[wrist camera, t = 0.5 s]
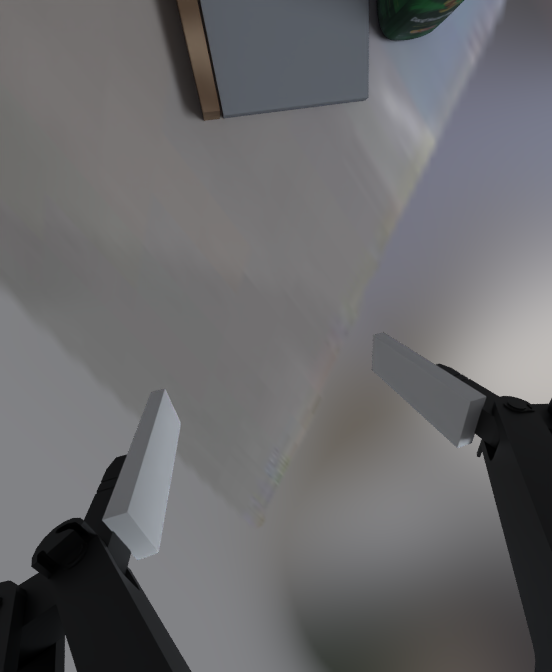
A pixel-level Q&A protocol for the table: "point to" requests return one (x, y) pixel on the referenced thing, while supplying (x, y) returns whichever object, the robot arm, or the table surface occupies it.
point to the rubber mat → (287, 53)
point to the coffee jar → (413, 16)
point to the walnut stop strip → (199, 57)
